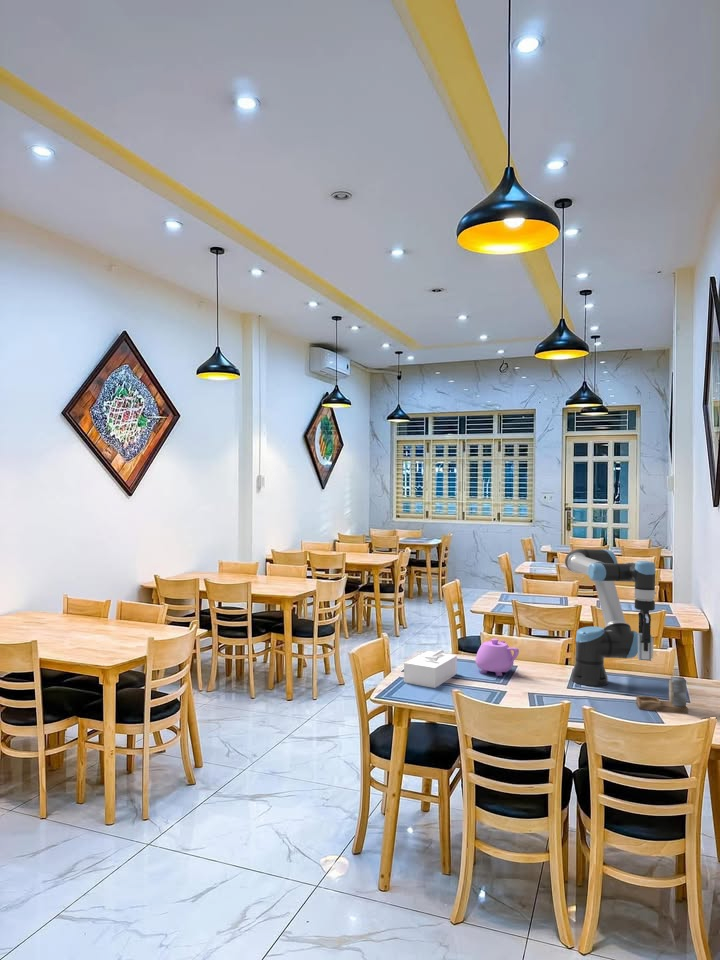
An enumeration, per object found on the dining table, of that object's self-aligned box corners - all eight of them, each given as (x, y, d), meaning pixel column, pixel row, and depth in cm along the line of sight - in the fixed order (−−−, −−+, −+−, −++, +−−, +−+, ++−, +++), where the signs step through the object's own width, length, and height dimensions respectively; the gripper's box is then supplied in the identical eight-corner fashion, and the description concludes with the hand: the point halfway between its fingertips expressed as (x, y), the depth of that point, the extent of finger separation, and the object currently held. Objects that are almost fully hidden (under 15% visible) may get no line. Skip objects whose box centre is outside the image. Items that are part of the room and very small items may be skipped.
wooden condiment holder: (639, 709, 249) (639, 677, 249) (636, 703, 256) (636, 672, 256) (687, 713, 245) (688, 681, 245) (683, 707, 252) (683, 676, 252)
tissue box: (403, 683, 279) (404, 657, 279) (427, 669, 301) (427, 646, 301) (434, 688, 272) (435, 662, 272) (456, 674, 293) (457, 650, 294)
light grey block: (639, 659, 261) (639, 635, 261) (637, 657, 265) (637, 632, 265) (653, 661, 260) (653, 635, 260) (651, 658, 264) (651, 633, 264)
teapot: (527, 670, 302) (527, 637, 302) (512, 680, 285) (513, 646, 285) (486, 663, 312) (487, 632, 313) (470, 672, 295) (471, 639, 296)
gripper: (659, 603, 254) (658, 663, 253) (650, 596, 271) (650, 653, 270) (638, 602, 256) (637, 661, 255) (631, 595, 272) (630, 651, 272)
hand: (644, 657), depth 263 cm, fingers closed on light grey block, 4 cm apart
